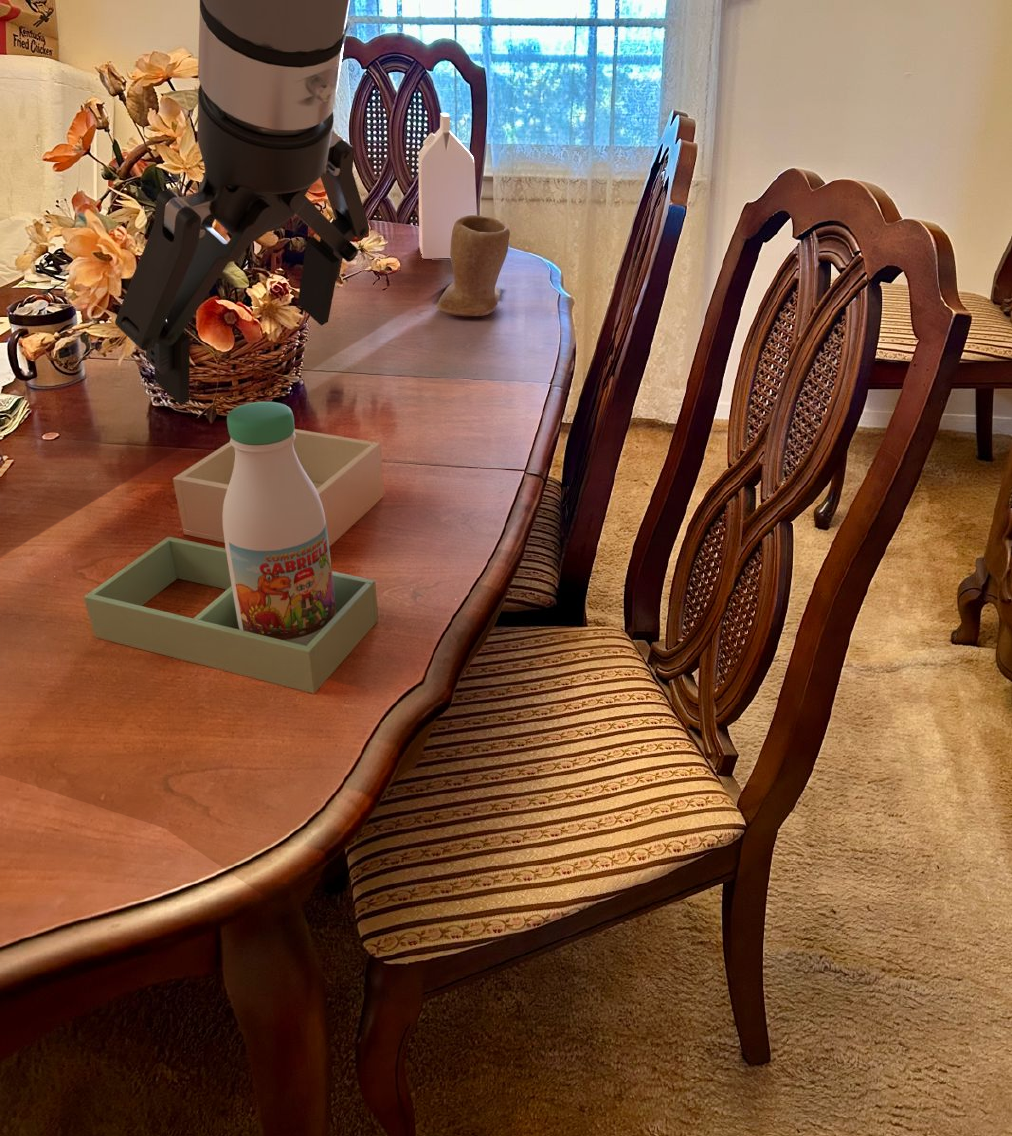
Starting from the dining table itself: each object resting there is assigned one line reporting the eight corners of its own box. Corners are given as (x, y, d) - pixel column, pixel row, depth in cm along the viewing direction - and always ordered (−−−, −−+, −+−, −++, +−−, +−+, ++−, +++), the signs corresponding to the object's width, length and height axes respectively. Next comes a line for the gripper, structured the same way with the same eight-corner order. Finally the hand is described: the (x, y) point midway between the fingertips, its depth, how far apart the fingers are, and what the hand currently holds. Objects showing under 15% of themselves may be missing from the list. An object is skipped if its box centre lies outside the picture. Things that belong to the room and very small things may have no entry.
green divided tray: (94, 637, 76) (83, 596, 74) (176, 574, 85) (168, 535, 83) (314, 694, 70) (309, 651, 68) (378, 620, 79) (375, 580, 77)
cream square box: (183, 534, 91) (172, 478, 88) (265, 474, 103) (258, 422, 100) (313, 562, 87) (307, 504, 84) (384, 496, 99) (381, 442, 96)
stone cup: (502, 324, 152) (503, 227, 144) (431, 319, 153) (428, 224, 145) (516, 299, 165) (517, 209, 157) (450, 295, 166) (448, 206, 158)
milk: (479, 258, 190) (477, 117, 177) (422, 259, 189) (417, 118, 175) (472, 245, 201) (471, 111, 187) (419, 246, 199) (413, 111, 186)
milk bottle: (222, 647, 75) (179, 415, 65) (292, 604, 81) (262, 384, 70) (289, 682, 72) (255, 442, 61) (358, 634, 77) (337, 406, 67)
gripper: (125, 214, 45) (140, 465, 63) (459, 75, 59) (395, 313, 76) (24, 120, 46) (67, 393, 64) (376, 5, 60) (331, 256, 77)
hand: (246, 350), depth 70 cm, fingers open, 13 cm apart
